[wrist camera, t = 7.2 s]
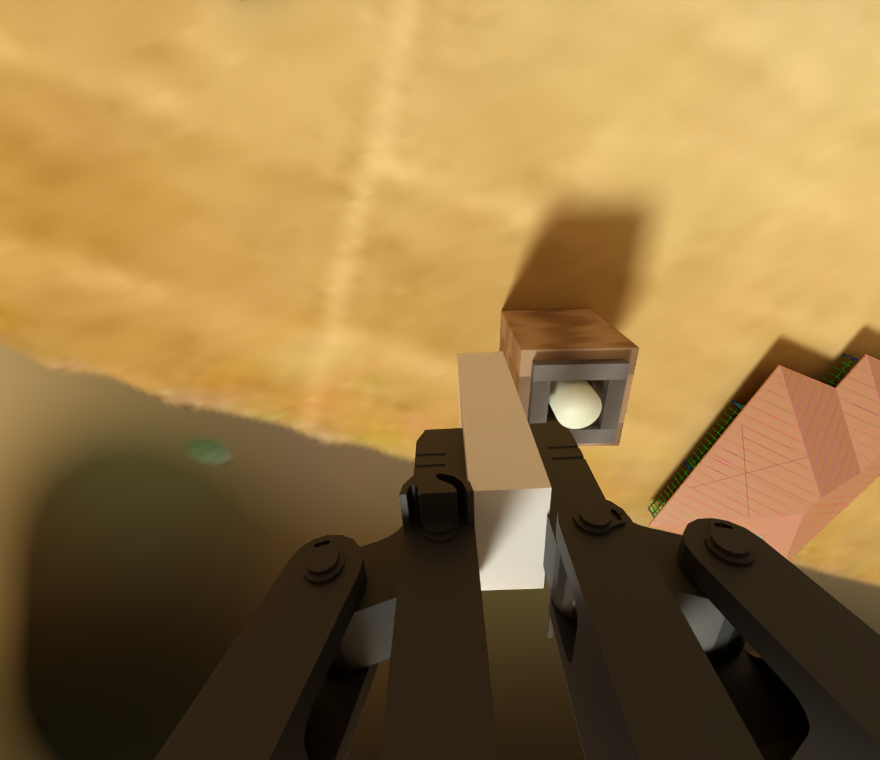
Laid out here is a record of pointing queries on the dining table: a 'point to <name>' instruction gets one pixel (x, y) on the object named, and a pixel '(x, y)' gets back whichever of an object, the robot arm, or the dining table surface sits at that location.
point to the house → (786, 459)
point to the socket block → (569, 365)
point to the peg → (574, 403)
